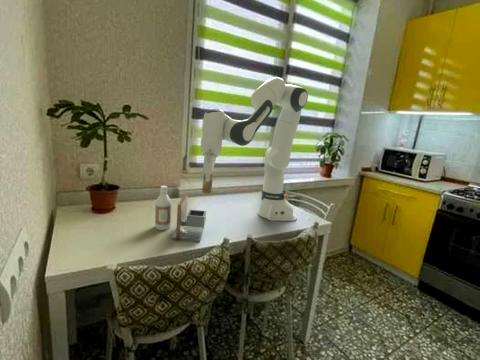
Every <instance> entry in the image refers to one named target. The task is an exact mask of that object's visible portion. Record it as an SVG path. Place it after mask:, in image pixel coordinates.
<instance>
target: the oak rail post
mask: <svg viewBox="0 0 480 360" xmlns="http://www.w3.org/2000/svg"><path fill="white" fill-rule="evenodd" d="M214 169H215V165H214V166H213V171H212V174H210V181H209V182H206V181H205V178H206V176H205V174H203V181H202V188H201V189H202V190H201V191H202V194H211V193H212V189H213V180H214V179H213V178H214Z"/></svg>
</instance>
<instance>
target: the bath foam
mask: <svg viewBox="0 0 480 360" xmlns="http://www.w3.org/2000/svg"><path fill="white" fill-rule="evenodd" d="M154 210H155V214H154V215H155V220H154V222H155V223H154V226H155V229H156V230H158V231H166V230H169V229H170V228H171V220H172V219H171V217H172V200H171V198H170V196H169V195H168V186H167V185H160V194H159V195H158V197H157V198H156V200H155V209H154Z"/></svg>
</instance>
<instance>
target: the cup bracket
mask: <svg viewBox="0 0 480 360" xmlns="http://www.w3.org/2000/svg"><path fill="white" fill-rule="evenodd" d="M188 196H189V194H187V193H184V194H183V196H182V197H181V199H180V201H179V202H178V203H177V213H176V214H177V215H176V229H175V231H174V233H173V235H172V237H171V240H172V241H181V242H192V243H193V242H194V243H201V241H202V236H203V232H204V230H205V224H206V219H207V210H198V209H197V210H196V209H189V211H188Z"/></svg>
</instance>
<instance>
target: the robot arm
mask: <svg viewBox="0 0 480 360" xmlns="http://www.w3.org/2000/svg"><path fill="white" fill-rule="evenodd" d="M308 99H309V94H308V91H307V90H306V88H304V87H302V86H297V85H293V84H289V83H288V84H286V82H285V81H284V79H282V78H281V77H279V76H274V77H271V78H270V79H267V80H266V81H265V82H263V83H262V84H261V85H260V86H258V88H256V89H255V90H254V91H253V93H252V94H251V96H250V102H251V106H252V108H253V109H254V111H253V112H252V114H250V116H249V117H248V118H247V119H243V120H238V119H232V118H231V117H230V116H229V115H227V114H226V113H225V112H224V110H223V109H217V108H216V109H215V108H212V109H208V110H206V111H205V112H204V113H203V114H204V115H203V119H202V125H201V127H202V128H201V132H202V135H201V139H200V148H199V149H200V150H199V151H200V153H202V156H203V157H204V158H203V167H202V174H203V175H204V174H205V176H206V178H205V181H206V182H209V181H210V174H212V171H213V172H214V170H213V166H214V167H215V165H216V161H217V158H218V156H219V154H221V153H222V147H223V141H226V142H230V143H232V144H233V143H234V144H235V145H238V146H240V147H241V146H242V147H243V146H247V145H249V144H250V143H251V142H252V141H253V139H254V137H255V135H256V133H257V132H258V130H259V129H260V128H261V126H262V125H263V124H264V123H265V122H266V121H267V119H268V118H269V117H270V115H271V114H272V112H273V109H274V106H279V107H282V108H281V112H280V113H279V116H278V119H277V121H276V125H275V128H274V131H273V135H272V136H273V137H272V143H271V146H270V147H268V148H267V149H266V150H265V154H264V171H263V172H264V177H263V184H262V190H261V192H260V193H261V194H260V204H259V208H258V210H257V213H256V214H257V215H258V216H259V217H262V218H264V219H267V220H269V221H283V222H284V221H288V222H289V221H293V222H294V221H296V220H297V218H298V217H297V214H296V213H295V212H294V208H293V207H294V206H293V205H292V204H291V203H290V202H289V201H288V200H287V198H288V195H287V194H286V193H285V192H284V191H283V188H284V182H285V177H284V176H285V175H284V174H285V173H284V169H286V168H287V167H288V166H289V164H290V160H291V153H292V149H293V144H294V143H293V142H294V139H295V135H296V133H297V129H298V126H299V122H300V119H301V113H302V109H303V108H304V107H305V106H306V104H307V102H308Z"/></svg>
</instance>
